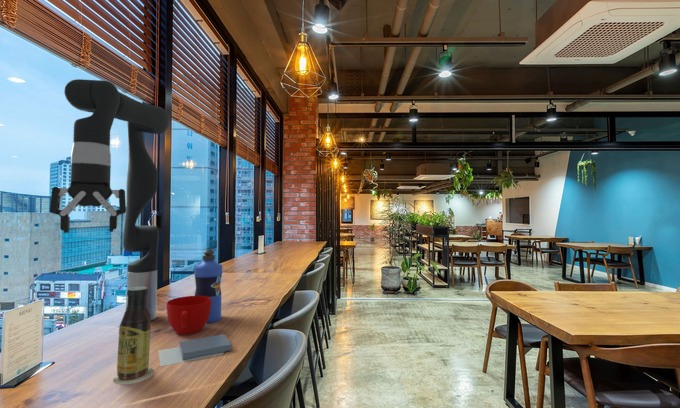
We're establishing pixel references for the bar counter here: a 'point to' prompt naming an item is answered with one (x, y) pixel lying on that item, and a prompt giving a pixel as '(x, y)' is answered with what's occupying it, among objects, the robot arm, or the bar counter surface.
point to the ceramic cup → (188, 313)
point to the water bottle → (209, 283)
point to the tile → (204, 346)
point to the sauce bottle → (134, 336)
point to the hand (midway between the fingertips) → (89, 232)
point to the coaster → (145, 376)
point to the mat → (177, 356)
